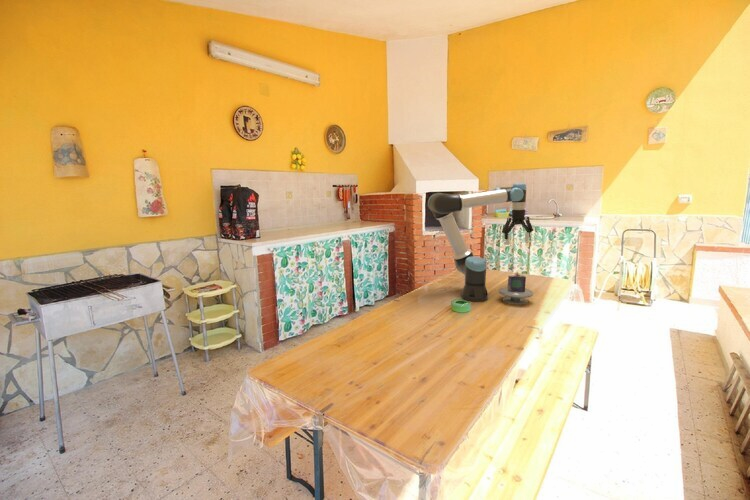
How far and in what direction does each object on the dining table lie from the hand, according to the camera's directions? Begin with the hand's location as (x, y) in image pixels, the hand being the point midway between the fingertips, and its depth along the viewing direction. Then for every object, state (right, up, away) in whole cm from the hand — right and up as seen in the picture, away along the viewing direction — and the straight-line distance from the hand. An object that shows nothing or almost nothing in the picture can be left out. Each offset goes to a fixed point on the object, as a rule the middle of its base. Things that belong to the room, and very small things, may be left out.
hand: (517, 243), depth 220 cm
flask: (-8, -27, -19) cm, 34 cm away
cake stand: (-8, -33, -18) cm, 38 cm away
